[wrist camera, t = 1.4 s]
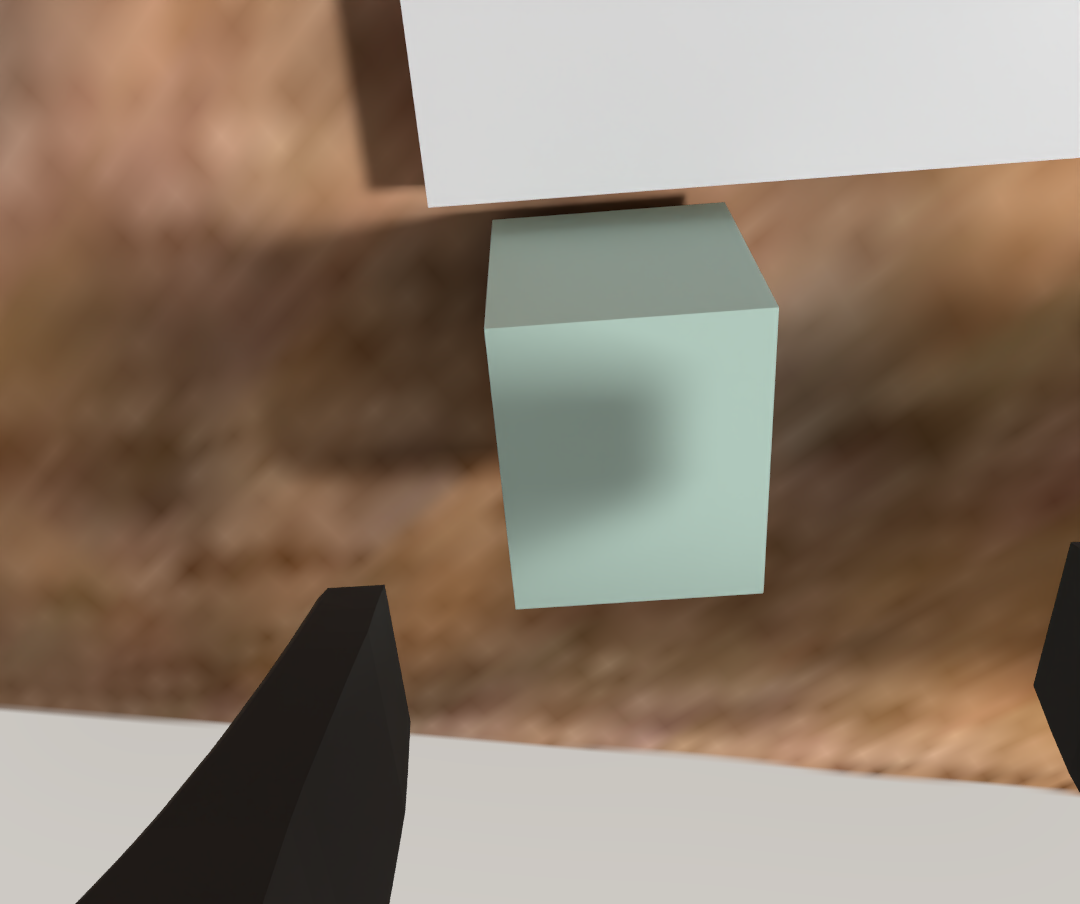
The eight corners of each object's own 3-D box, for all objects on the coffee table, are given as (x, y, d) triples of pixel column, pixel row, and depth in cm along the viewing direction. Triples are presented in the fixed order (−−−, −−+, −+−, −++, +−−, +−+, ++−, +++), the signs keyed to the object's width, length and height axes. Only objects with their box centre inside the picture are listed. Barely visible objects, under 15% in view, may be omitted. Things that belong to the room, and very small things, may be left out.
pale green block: (714, 433, 21) (763, 593, 16) (517, 447, 21) (515, 609, 17) (719, 190, 18) (779, 306, 14) (493, 208, 18) (483, 329, 14)
